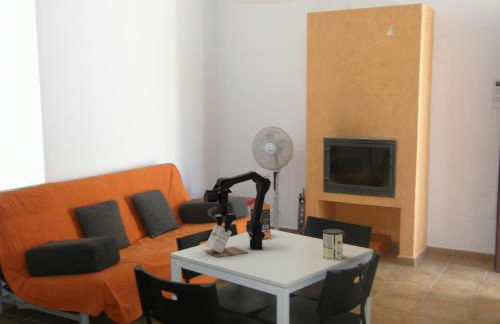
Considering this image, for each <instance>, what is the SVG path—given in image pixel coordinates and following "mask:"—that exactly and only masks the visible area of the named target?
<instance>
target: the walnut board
mask: <svg viewBox="0 0 500 324" xmlns="http://www.w3.org/2000/svg"><path fill="white" fill-rule="evenodd" d="M204 252H205V253H206V254H208V255H210V256H213V257H214V258H217V259H218V258H225V257H231V256H238V255H245V254H246V255H248V254H249V251H247V250H244V249H243V248H240V247H237V246H235V245H234V246H228V247H225V248H224V250H223V252H222V253H220V252H217V251H215V250H213V249H206V250H204Z"/></svg>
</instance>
